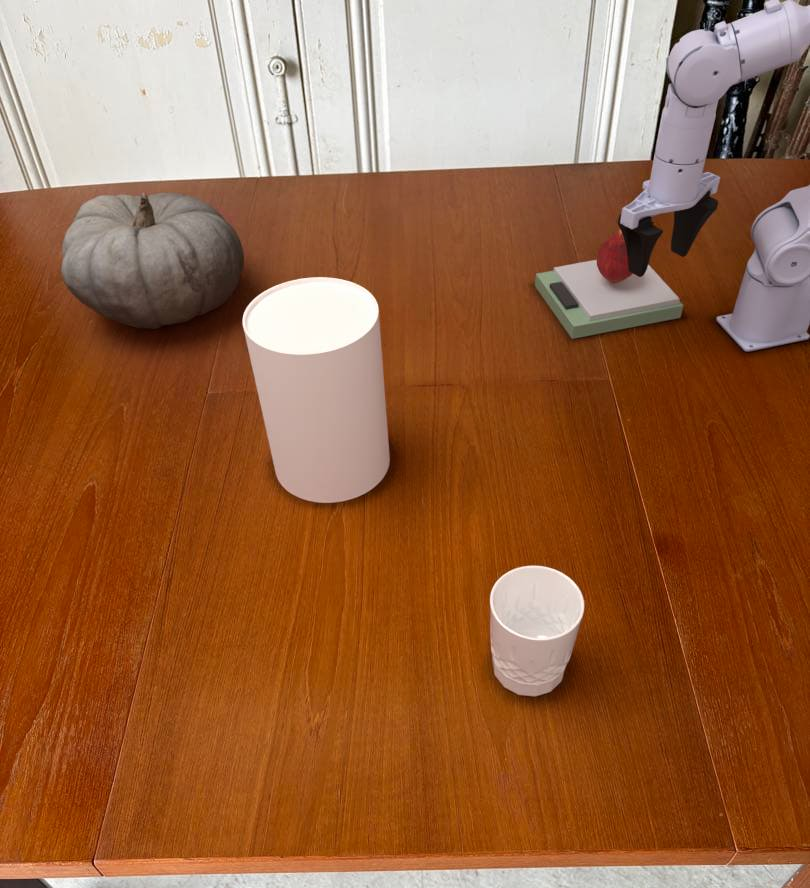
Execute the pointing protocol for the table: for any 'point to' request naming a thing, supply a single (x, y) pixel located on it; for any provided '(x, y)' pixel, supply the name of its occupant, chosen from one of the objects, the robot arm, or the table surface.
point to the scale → (605, 299)
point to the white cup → (533, 628)
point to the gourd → (151, 258)
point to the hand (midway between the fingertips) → (657, 263)
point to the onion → (613, 259)
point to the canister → (320, 386)
